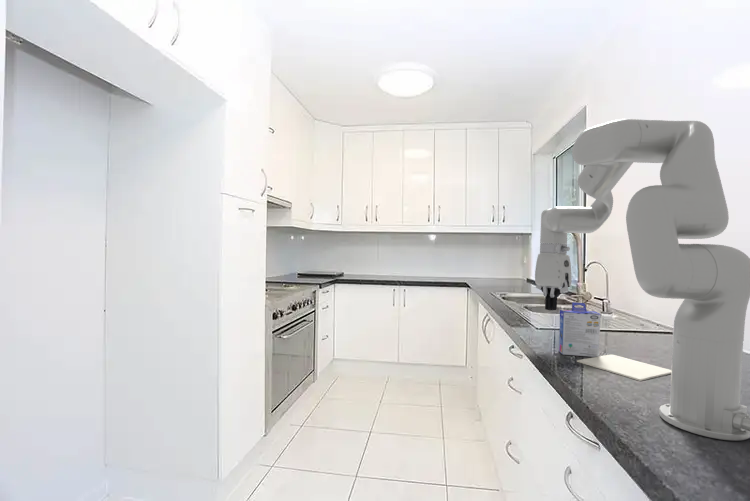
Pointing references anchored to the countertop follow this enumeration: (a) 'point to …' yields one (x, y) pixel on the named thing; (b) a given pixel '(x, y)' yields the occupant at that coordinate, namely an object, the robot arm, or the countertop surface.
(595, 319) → the ink cartridge box
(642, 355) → the countertop surface
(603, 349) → the countertop surface
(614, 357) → the cream mat
